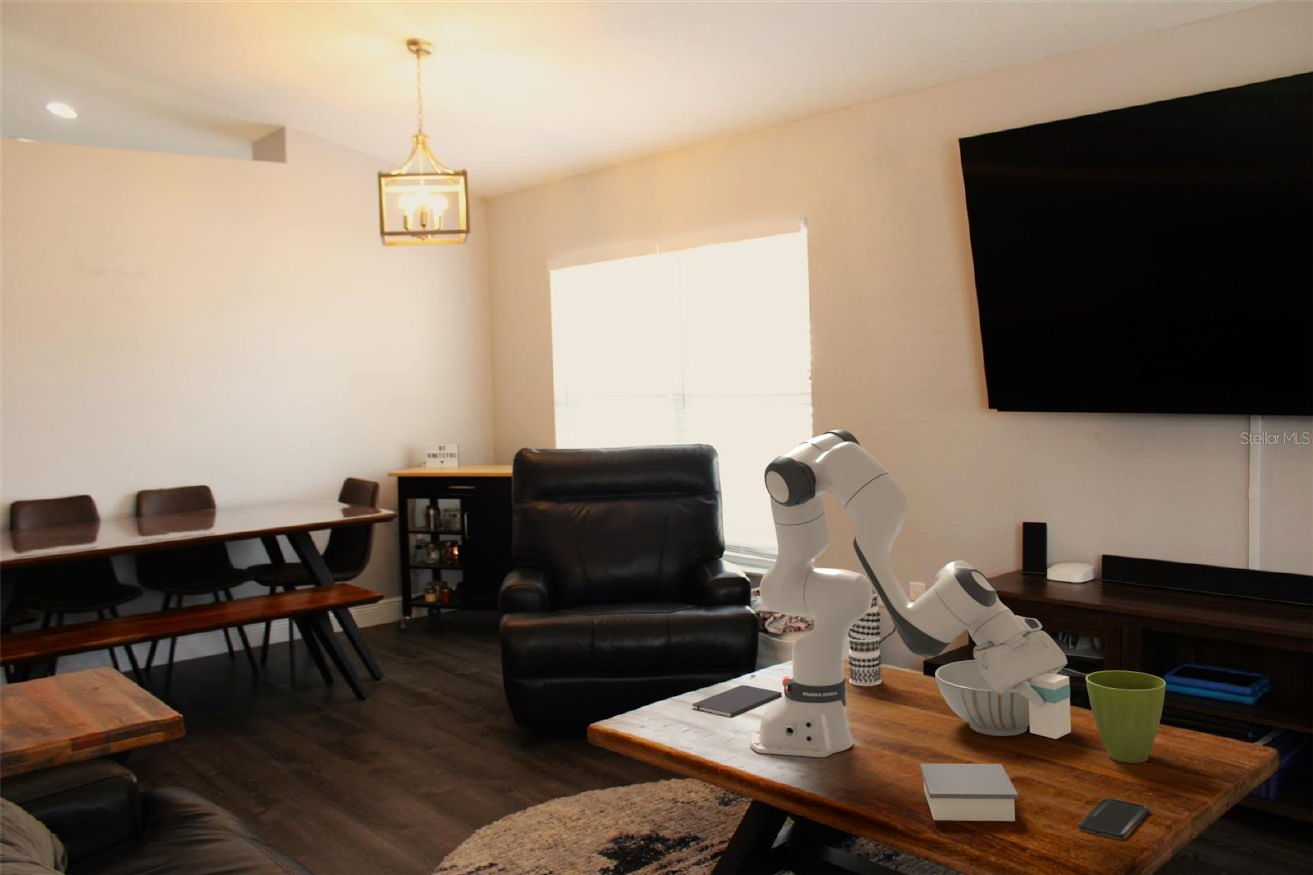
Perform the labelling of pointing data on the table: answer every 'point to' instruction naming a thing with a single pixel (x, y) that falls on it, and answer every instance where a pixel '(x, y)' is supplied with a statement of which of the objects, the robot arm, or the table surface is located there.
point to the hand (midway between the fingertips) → (1052, 700)
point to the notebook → (737, 700)
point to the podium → (969, 792)
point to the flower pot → (1126, 712)
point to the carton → (1051, 706)
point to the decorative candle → (865, 648)
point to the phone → (1113, 818)
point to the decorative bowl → (982, 700)
